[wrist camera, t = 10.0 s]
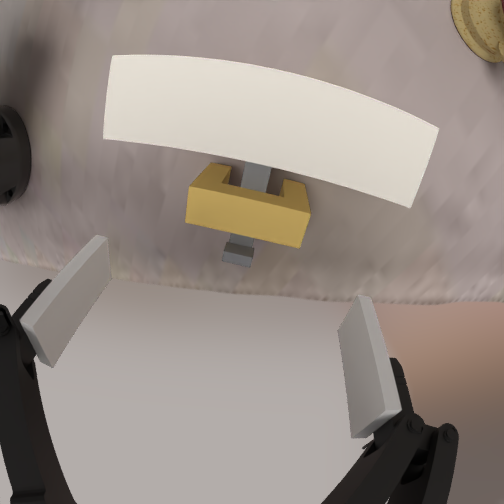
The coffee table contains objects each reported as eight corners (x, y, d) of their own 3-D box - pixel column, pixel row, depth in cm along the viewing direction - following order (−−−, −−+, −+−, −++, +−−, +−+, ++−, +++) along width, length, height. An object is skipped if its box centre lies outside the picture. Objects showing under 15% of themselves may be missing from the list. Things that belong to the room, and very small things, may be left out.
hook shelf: (166, 204, 30) (107, 275, 19) (185, 66, 22) (112, 55, 11) (327, 241, 31) (347, 330, 20) (371, 109, 23) (439, 128, 12)
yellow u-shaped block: (206, 191, 28) (184, 222, 22) (211, 162, 26) (189, 186, 20) (296, 211, 28) (299, 248, 22) (304, 183, 26) (311, 213, 20)
